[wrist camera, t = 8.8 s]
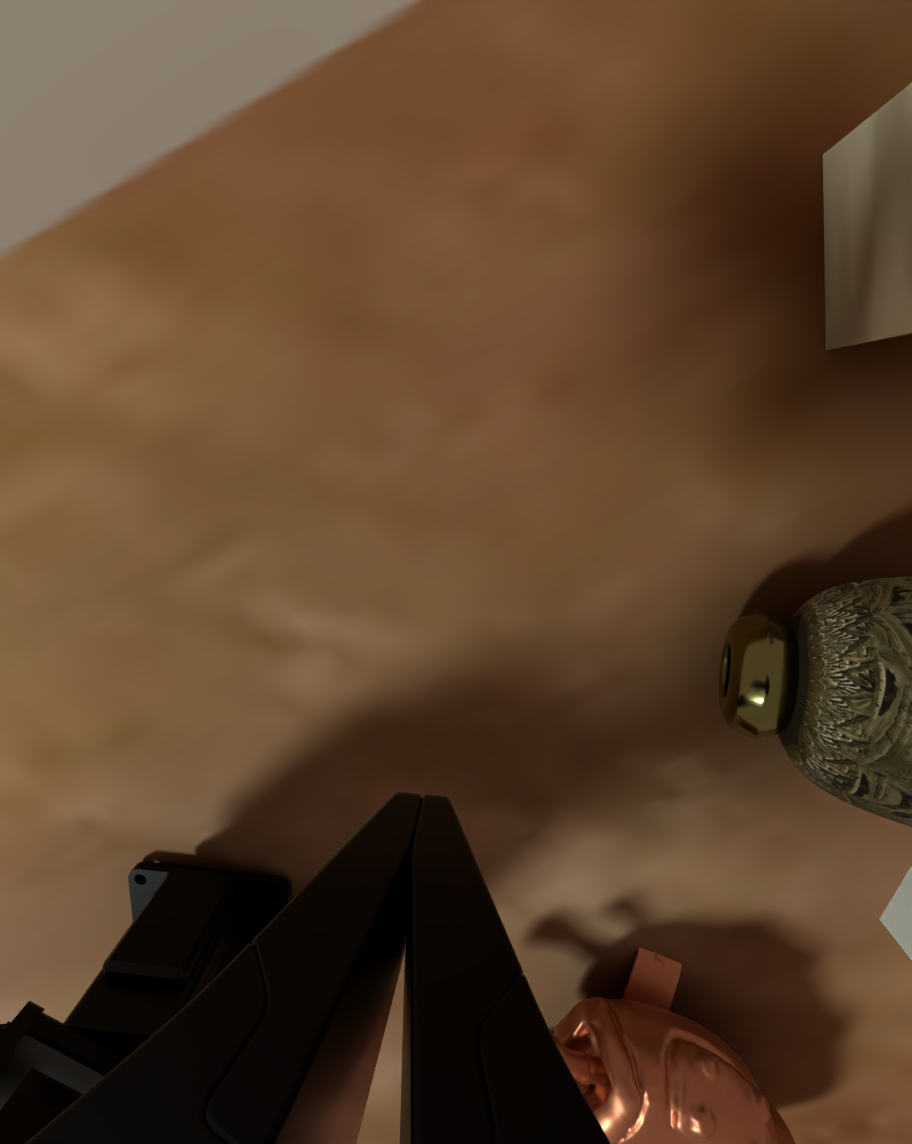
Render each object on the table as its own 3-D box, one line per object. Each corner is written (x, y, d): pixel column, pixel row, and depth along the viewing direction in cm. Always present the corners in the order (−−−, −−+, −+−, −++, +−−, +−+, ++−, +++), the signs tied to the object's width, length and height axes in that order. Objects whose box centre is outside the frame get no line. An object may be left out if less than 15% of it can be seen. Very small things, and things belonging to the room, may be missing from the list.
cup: (706, 652, 22) (957, 686, 19) (706, 840, 17) (1043, 921, 14) (743, 498, 17) (1091, 516, 14) (758, 703, 12) (1297, 790, 9)
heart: (955, 1239, 17) (511, 1043, 16) (724, 1376, 21) (364, 1222, 20) (846, 1024, 22) (514, 872, 22) (681, 1164, 26) (399, 1040, 26)
